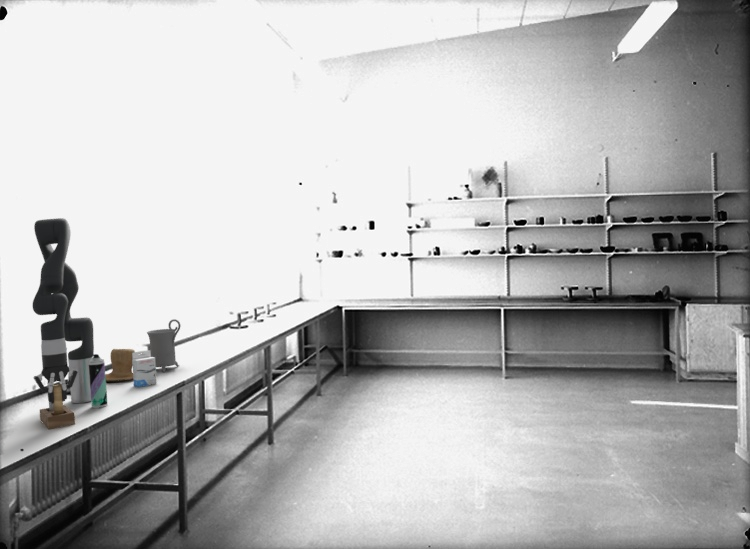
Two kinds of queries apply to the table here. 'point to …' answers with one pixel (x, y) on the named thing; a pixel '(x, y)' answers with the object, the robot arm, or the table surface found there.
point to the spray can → (97, 382)
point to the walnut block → (57, 418)
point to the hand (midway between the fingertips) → (57, 401)
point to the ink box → (143, 368)
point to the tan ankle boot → (121, 365)
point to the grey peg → (50, 406)
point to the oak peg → (58, 400)
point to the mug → (163, 346)
